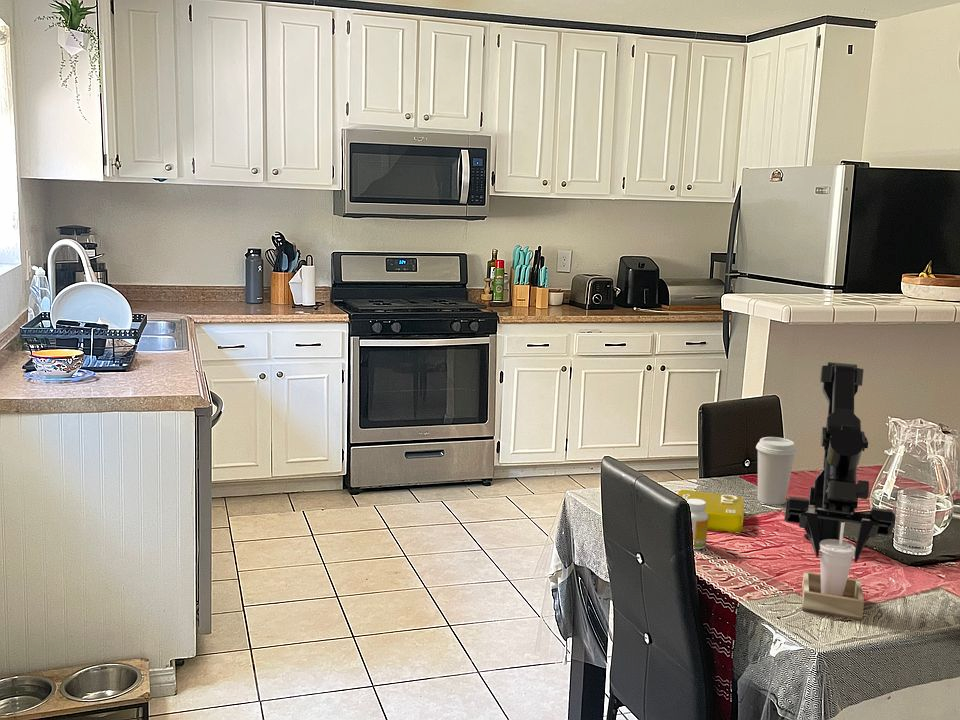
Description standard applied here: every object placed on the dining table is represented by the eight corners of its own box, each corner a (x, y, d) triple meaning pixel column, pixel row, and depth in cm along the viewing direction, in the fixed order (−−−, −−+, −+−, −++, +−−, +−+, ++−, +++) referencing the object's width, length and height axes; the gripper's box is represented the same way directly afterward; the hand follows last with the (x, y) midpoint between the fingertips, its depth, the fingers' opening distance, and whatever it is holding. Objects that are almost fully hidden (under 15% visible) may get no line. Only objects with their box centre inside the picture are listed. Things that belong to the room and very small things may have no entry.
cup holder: (801, 588, 176) (803, 571, 175) (858, 597, 173) (860, 579, 172) (802, 610, 167) (804, 592, 166) (861, 620, 164) (864, 601, 163)
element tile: (677, 505, 222) (678, 486, 221) (742, 513, 218) (744, 494, 217) (672, 526, 207) (674, 506, 206) (742, 535, 203) (743, 515, 203)
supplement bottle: (706, 542, 198) (710, 499, 196) (704, 551, 192) (708, 507, 191) (681, 538, 199) (684, 495, 197) (678, 547, 194) (681, 503, 192)
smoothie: (857, 602, 167) (866, 529, 164) (823, 603, 166) (832, 529, 163) (839, 587, 173) (847, 516, 171) (806, 587, 172) (814, 516, 170)
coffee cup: (796, 499, 228) (802, 440, 225) (786, 509, 220) (792, 449, 217) (757, 491, 233) (762, 433, 230) (746, 501, 225) (751, 442, 222)
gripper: (791, 455, 172) (785, 532, 163) (900, 468, 166) (899, 548, 158) (787, 483, 180) (781, 557, 172) (890, 496, 175) (889, 573, 167)
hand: (836, 558), depth 167 cm, fingers closed on smoothie, 6 cm apart
